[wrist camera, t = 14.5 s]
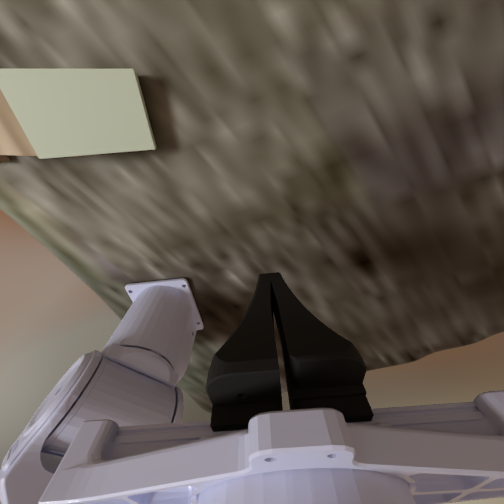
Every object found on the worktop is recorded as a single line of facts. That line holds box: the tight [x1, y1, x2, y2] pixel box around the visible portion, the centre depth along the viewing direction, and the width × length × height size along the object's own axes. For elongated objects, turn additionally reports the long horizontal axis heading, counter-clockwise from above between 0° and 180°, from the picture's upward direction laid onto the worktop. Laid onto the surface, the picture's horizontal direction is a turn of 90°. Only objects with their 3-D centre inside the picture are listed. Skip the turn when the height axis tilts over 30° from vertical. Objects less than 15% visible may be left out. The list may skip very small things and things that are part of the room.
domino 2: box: [0, 69, 157, 159], centre depth 15 cm, size 2×5×8 cm
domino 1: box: [0, 89, 83, 157], centre depth 15 cm, size 2×5×8 cm
